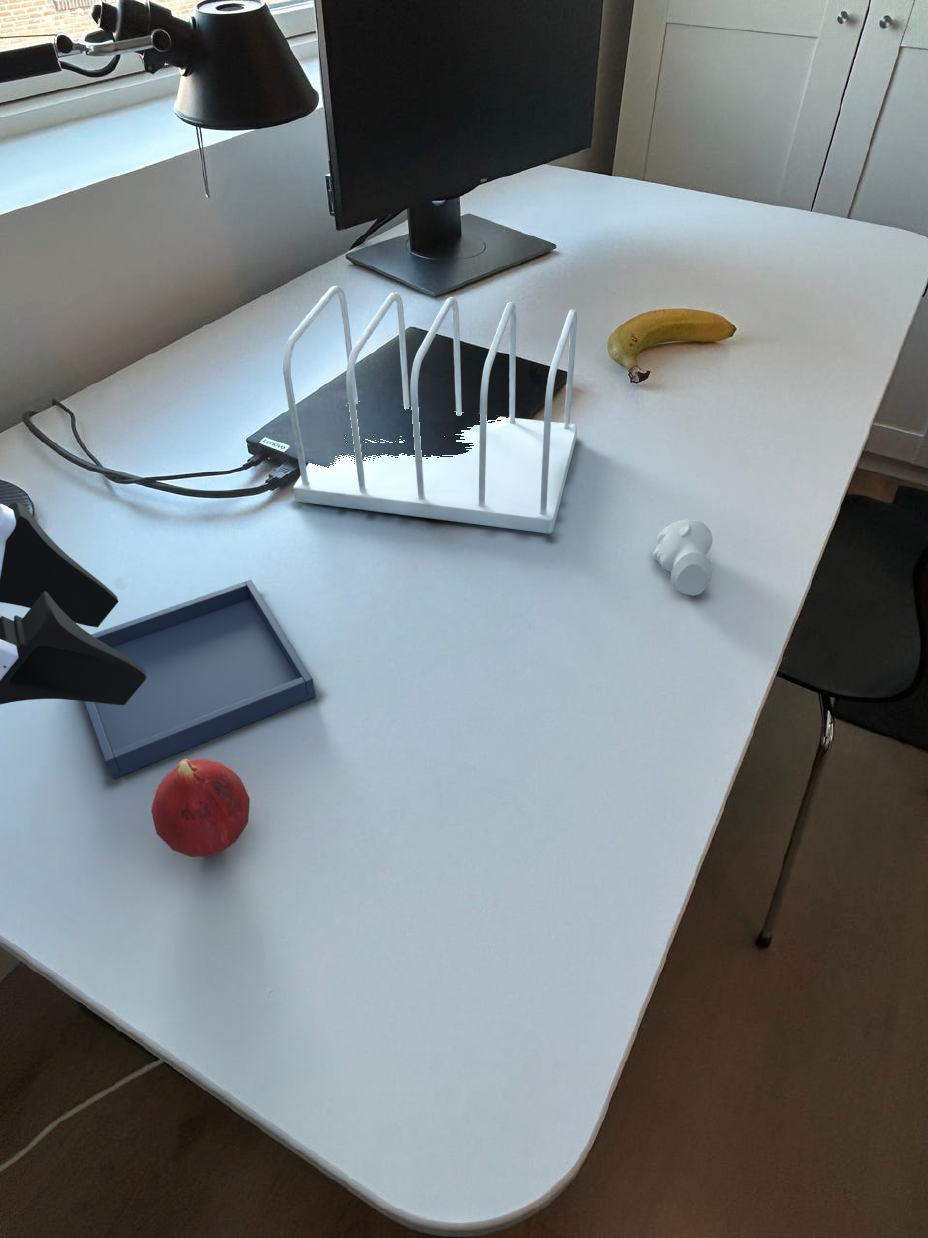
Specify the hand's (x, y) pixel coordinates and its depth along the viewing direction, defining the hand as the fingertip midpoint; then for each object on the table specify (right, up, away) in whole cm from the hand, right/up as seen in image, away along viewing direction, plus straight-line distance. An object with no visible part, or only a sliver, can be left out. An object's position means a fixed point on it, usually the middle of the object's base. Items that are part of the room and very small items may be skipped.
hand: (120, 647), depth 48 cm
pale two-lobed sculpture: (+38, +6, +29) cm, 48 cm away
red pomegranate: (+2, -13, +9) cm, 16 cm away
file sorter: (+17, +16, +41) cm, 47 cm away
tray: (-2, -3, +20) cm, 20 cm away
